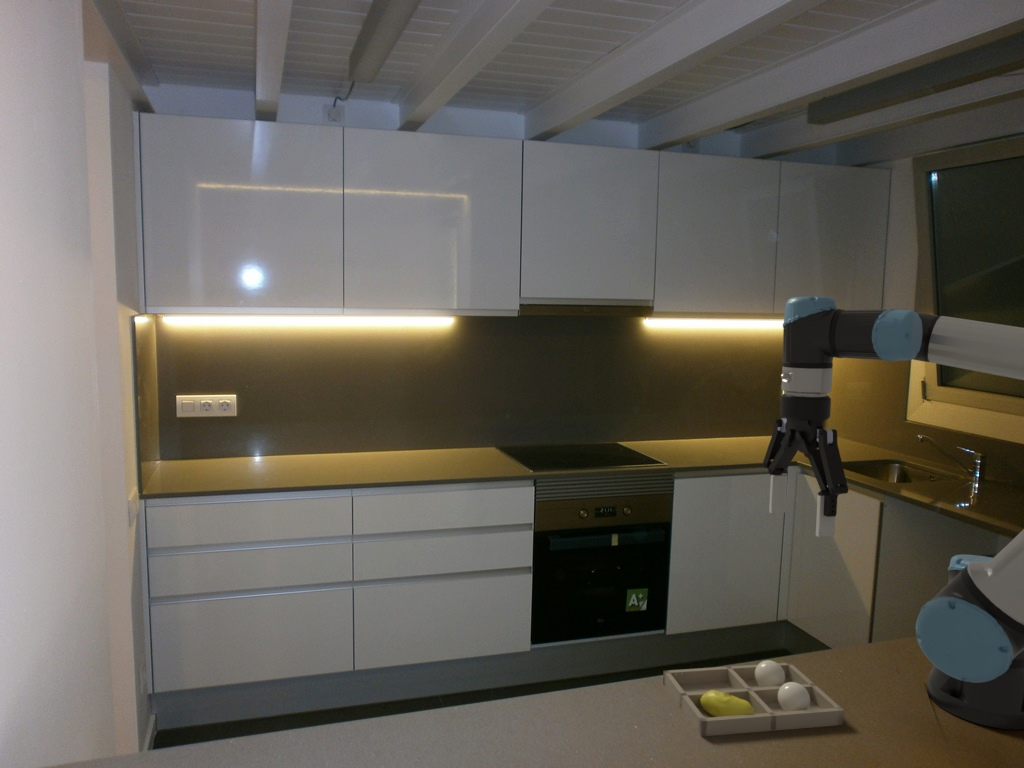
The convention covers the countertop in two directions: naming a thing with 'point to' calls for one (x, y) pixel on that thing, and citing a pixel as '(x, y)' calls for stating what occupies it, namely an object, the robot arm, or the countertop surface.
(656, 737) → the countertop surface
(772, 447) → the robot arm
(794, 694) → the egg back left
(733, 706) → the yellow oval piece
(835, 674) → the countertop surface
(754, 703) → the divided tray
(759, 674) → the egg back right
